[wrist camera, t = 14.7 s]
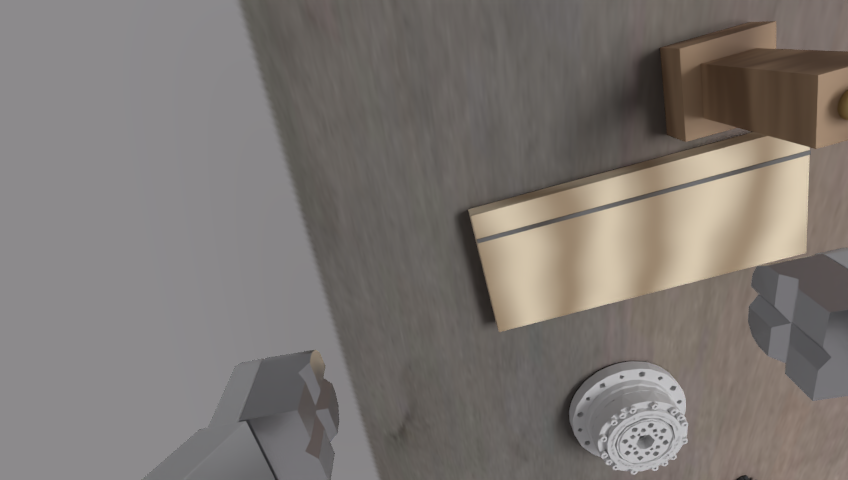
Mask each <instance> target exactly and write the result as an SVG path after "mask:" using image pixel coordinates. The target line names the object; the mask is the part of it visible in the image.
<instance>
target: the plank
mask: <svg viewBox="0 0 848 480" xmlns="http://www.w3.org/2000/svg"><path fill="white" fill-rule="evenodd" d="M809 155H811V150H810V147H807V146H803V145H800V144H796V143H792V142H789V141H785V140H781V139H778V138H774V137H770V136H767V135H763V134H759V133H756V132H751V133H748V134H744V135H740V136H737V137H733V138H729V139H726V140H722V141H718V142H714V143H711V144H707V145H703V146H700V147H696V148H692V149H689V150H685V151H681V152H678V153H674V154H670V155H667V156H663V157H659V158H655V159H652V160H648V161H644V162H641V163H637V164H633V165H630V166H626V167H622V168H619V169H615V170H611V171H608V172H604V173H600V174H596V175H593V176H589V177H585V178H582V179H578V180H574V181H571V182H567V183H563V184H560V185H556V186H552V187H548V188H545V189H541V190H537V191H534V192H530V193H526V194H523V195H519V196H515V197H512V198H508V199H504V200H501V201H497V202H493V203H489V204H486V205H482V206H478V207H475V208H471V209H468V212H469V216H470V220H471V224H472V228H473V232H474V236H475V240H476V244H477V248H478V252H479V256H480V260H481V264H482V268H483V273H484V277H485V281H486V285H487V289H488V293H489V297H490V301H491V305H492V309H493V313H494V317H495V321H496V324H497V327H498V330H499V332H501V331H505V330H509V329H513V328H517V327H521V326H525V325H528V324H532V323H536V322H540V321H544V320H548V319H552V318H556V317H559V316H563V315H567V314H571V313H575V312H579V311H583V310H587V309H590V308H594V307H598V306H602V305H606V304H610V303H614V302H617V301H621V300H625V299H629V298H633V297H637V296H641V295H645V294H648V293H652V292H656V291H660V290H664V289H668V288H672V287H676V286H679V285H683V284H687V283H691V282H695V281H699V280H703V279H707V278H710V277H714V276H718V275H722V274H726V273H730V272H734V271H738V270H741V269H745V268H749V267H753V266H757V265H761V264H765V263H769V262H772V261H776V260H780V259H784V258H788V257H792V256H796V255H800V254H803V253H806V245H807V214H808V183H809Z"/></svg>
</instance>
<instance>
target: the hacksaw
mask: <svg viewBox="0 0 848 480" xmlns="http://www.w3.org/2000/svg"><path fill="white" fill-rule="evenodd" d="M737 480H750V479H749V478H748V476H742V477H740V478H739V479H737Z"/></svg>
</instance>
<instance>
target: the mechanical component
mask: <svg viewBox="0 0 848 480" xmlns="http://www.w3.org/2000/svg"><path fill="white" fill-rule="evenodd" d="M685 410H686V399H685V396H684V392H683V390H682V389H681V387H680V386H679V384H678V383H677V381H676V380H675V379H674V378H673V377H672V375H671V374H670V373H669V372H667V371H666V370H664V369H663V368H661V367H660V366H658V365H655V364H651V363H648V362H638V361H629V362H623V363H618V364H615V365H612V366H609V367H606V368H604V369H602V370H600V371H598V372H596V373H595V374H594V375H593V376H591V377H590V378H589V379H587V380H586V381H585V382H584V383H583V384H582V385H581V387H580V388H579V389H578V390H577V392H576V393H575V395H574V397H573V399H572V401H571V405H570V409H569V421H570V424H571V427H572V429H573V432H574V435H575V436H576V438H577V440H578V441H579V443H580V444H581V446H582V447H584V448H585V449H586V450H588V451H589V452H590V453H592V454H593V455H596V456H599V457H601V458H602V459H603V460H604V462H605V463H606V464H607V465H610V466H611V467H612V469H613V470H617V469H618V470H622V471H630V473H631V474H633V475H634V474H636V473H637V471H644V470H647V469H652V470H653V471H656V470H658V466H659V465H662V466H666V465H668V460H669V459H671V460H674V459H676V457H677V456H676V453H677V452H678V451H679V450H680V448H681V447H682V445H683V444H686V443H687V442H688V440H687V438H686V436H687V428H688V427H687V426H688V423H687V421H686V418H685V417H684V414H685Z"/></svg>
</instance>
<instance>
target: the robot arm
mask: <svg viewBox="0 0 848 480" xmlns="http://www.w3.org/2000/svg"><path fill="white" fill-rule="evenodd" d="M751 286H752V288H753V289H754V290H755V291H756V292H757V293H758V294H759V295H758V296H757V297H756V299H755V300H754V301H753V302H752V303H751V305H750V306H749V315H748V323H749V326H750V330H751V333H752V336H753V338H754V339H755V341H756V343H757V344H758V346H759V347H760V348H761V349H762V350H763V351H764V352H765V354H766V355H767V356H769V357H771V358H774V359H777V360H779V361H782V362H784V363H785V374H786V375H787V376H788V377H789V378H790V379H791V380H792V381H793V382H794V383H795V384H796V385H797V386H798V387H799V388H800V389H801V390H802V391H803V392H804V393H805V394H806V395H807V396H808V397H809V398H810V399H811V400H812V401H815V400H822V399H829V398H836V397H842V396H848V248H840V249H836V250H831V251H827V252H822V253H817V254H815V255H812V256H807V257H802V258H797V259H792V260H787V261H782V262H777V263H771V264H766V265H761V266H757V267H756V269H755V271H754V273H753V276H752V284H751ZM324 371H325V364H324V362H323V359H322V357H321V354H320V353H319V352H318V351H317V350H310V351H304V352H298V353H293V354H286V355H280V356H275V357H269V358H265V359H258V360H252V361H248V362H242V363H240V364H238V365H237V366H235V368H234V370H233V372H232V375H231V377H230V379H229V381H228V384H227V386H226V388H225V390H224V393H223V395H222V397H221V399H220V402H219V404H218V406H217V409H216V411H215V413H214V415H213V417H212V420H211V422H210V424H209V426H208V428H204V429H200V430H198V431H197V432H196V433H195V434H194V435H193V436H191V437H190V438H189V439H188V440H187V441H186V442H185V443H183V444H182V445H181V446H180V447H179V448H178V449H177V450H175V451H174V452H173V453H172V454H171V455H170V456H168V457H167V458H166V459H165V460H164V461H163V462H161V463H160V464H159V465H158V466H157V467H156V468H155V469H153V470H152V471H151V472H150V473H149V474H148V475H147V476H145V477H144V478H143V479H142V480H331V473H332V467H333V460H334V454H335V453H334V451H333V448H332V446H331V443H330V442H331V440H332V439H333V438H334V437H335V436H336V435H337V433H338V425H339V413H338V412H339V410H338V402H337V398H336V393H335V390H334V388H333V385H332V384H331V383H330V382H328V381H327V380H326V379H324V378H323V376H324Z"/></svg>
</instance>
